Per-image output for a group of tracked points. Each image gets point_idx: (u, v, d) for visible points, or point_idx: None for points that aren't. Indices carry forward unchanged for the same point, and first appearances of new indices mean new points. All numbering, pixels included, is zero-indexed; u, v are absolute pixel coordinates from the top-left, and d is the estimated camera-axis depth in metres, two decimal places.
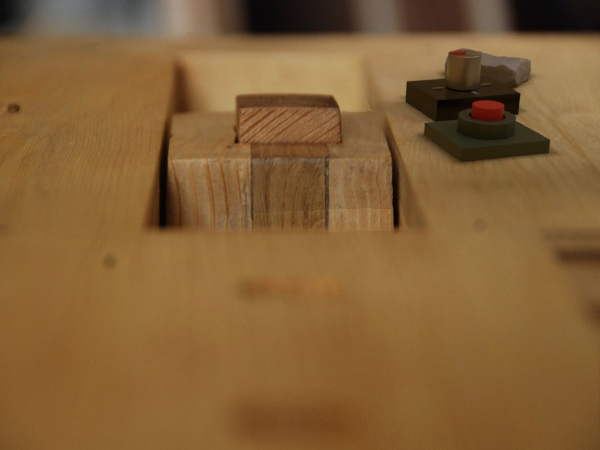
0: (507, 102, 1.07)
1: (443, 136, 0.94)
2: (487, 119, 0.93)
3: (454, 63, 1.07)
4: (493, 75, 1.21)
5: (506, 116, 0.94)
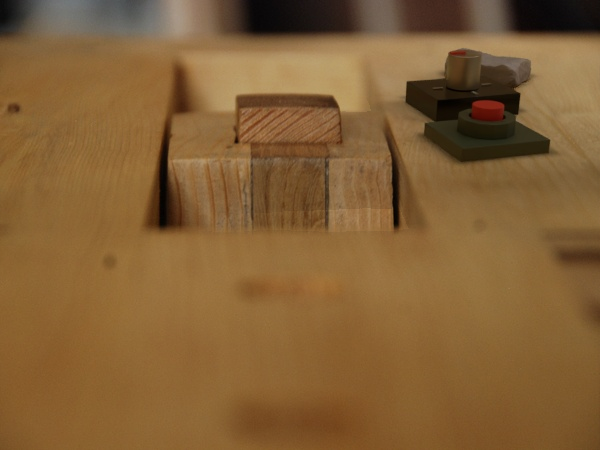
0: (507, 102, 1.07)
1: (443, 136, 0.94)
2: (487, 119, 0.93)
3: (454, 63, 1.07)
4: (493, 75, 1.21)
5: (506, 116, 0.94)
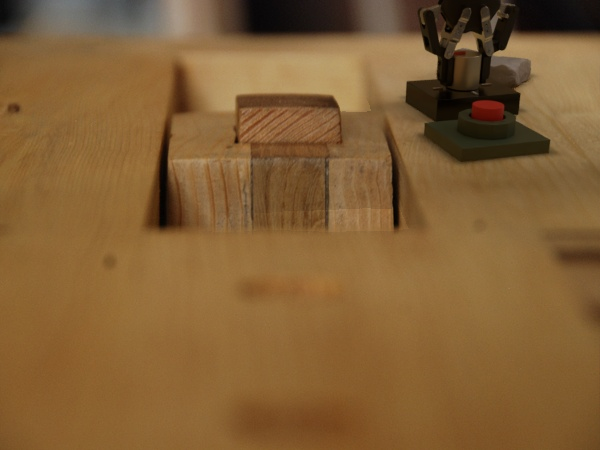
0: (507, 102, 1.07)
1: (443, 136, 0.94)
2: (487, 119, 0.93)
3: (454, 63, 1.07)
4: (493, 75, 1.21)
5: (506, 116, 0.94)
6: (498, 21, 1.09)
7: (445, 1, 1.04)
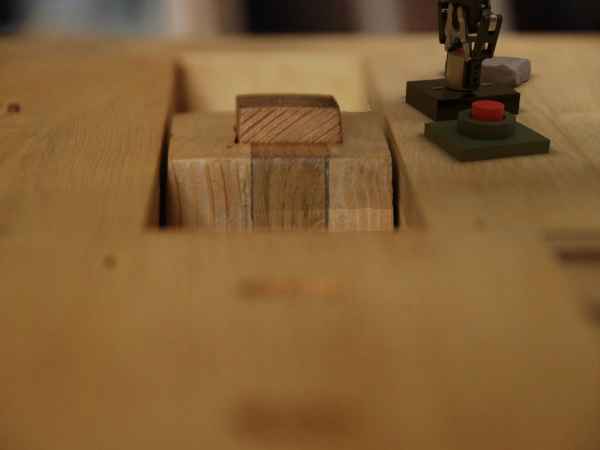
0: (507, 102, 1.07)
1: (443, 136, 0.94)
2: (487, 119, 0.93)
3: None
4: (493, 75, 1.21)
5: (506, 116, 0.94)
6: None
7: None
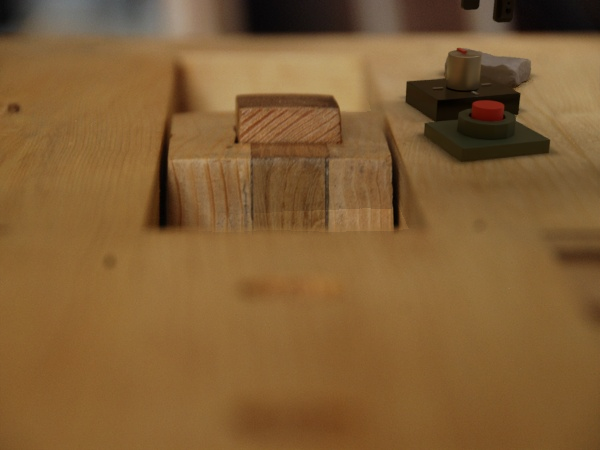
0: (507, 102, 1.07)
1: (443, 136, 0.94)
2: (487, 119, 0.93)
3: None
4: (493, 75, 1.21)
5: (506, 116, 0.94)
6: None
7: None
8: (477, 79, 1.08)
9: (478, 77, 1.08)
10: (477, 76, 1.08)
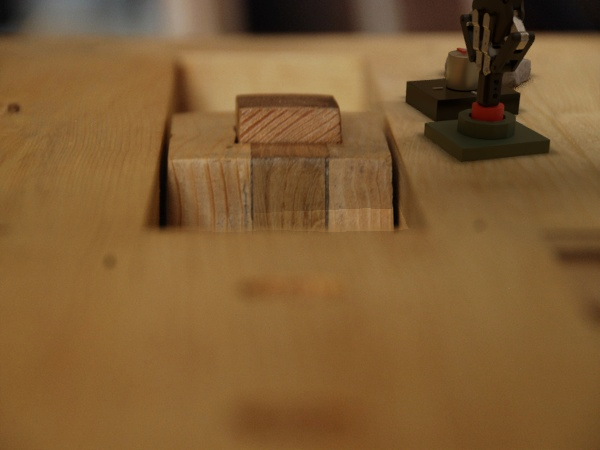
0: (507, 102, 1.07)
1: (443, 136, 0.94)
2: (487, 119, 0.93)
3: None
4: None
5: (506, 116, 0.94)
6: None
7: None
8: (477, 79, 1.08)
9: (478, 77, 1.08)
10: (477, 76, 1.08)
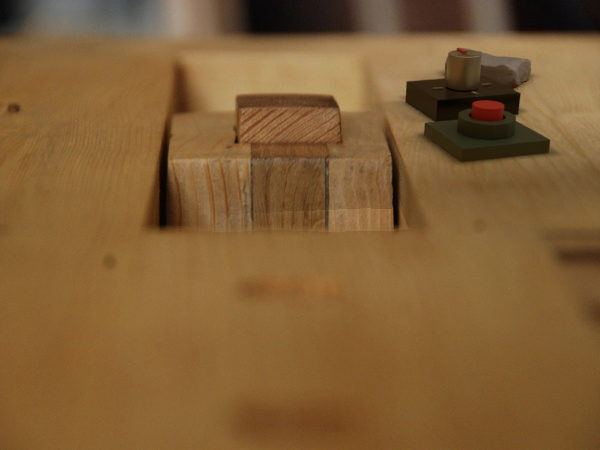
0: (507, 102, 1.07)
1: (443, 136, 0.94)
2: (487, 119, 0.93)
3: None
4: (493, 75, 1.21)
5: (506, 116, 0.94)
6: None
7: None
8: (477, 79, 1.08)
9: (478, 77, 1.08)
10: (477, 76, 1.08)
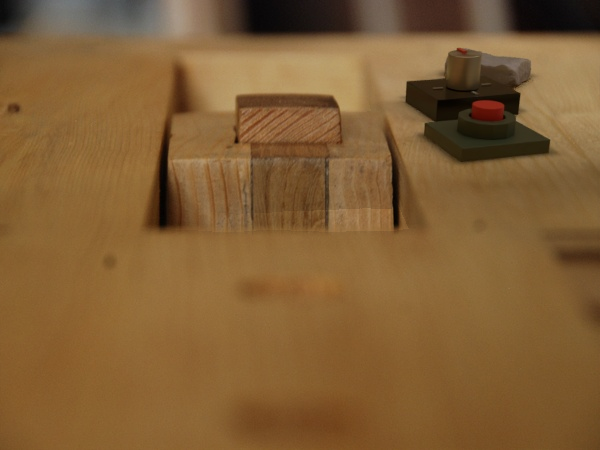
0: (507, 102, 1.07)
1: (443, 136, 0.94)
2: (487, 119, 0.93)
3: None
4: (493, 75, 1.21)
5: (506, 116, 0.94)
6: None
7: None
8: (477, 79, 1.08)
9: (478, 77, 1.08)
10: (477, 76, 1.08)
